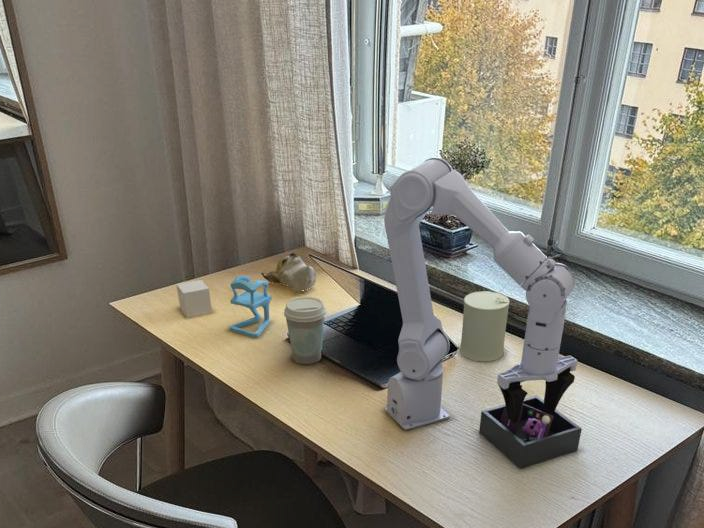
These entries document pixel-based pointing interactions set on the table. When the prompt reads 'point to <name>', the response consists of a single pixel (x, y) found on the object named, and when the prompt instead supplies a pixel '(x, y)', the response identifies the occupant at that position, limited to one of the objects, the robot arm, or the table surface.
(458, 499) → the table surface
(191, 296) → the grey cube
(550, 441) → the tub
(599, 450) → the table surface
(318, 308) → the coffee cup
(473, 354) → the can
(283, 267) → the ceramic sculpture
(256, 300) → the chair
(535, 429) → the purple toy package
